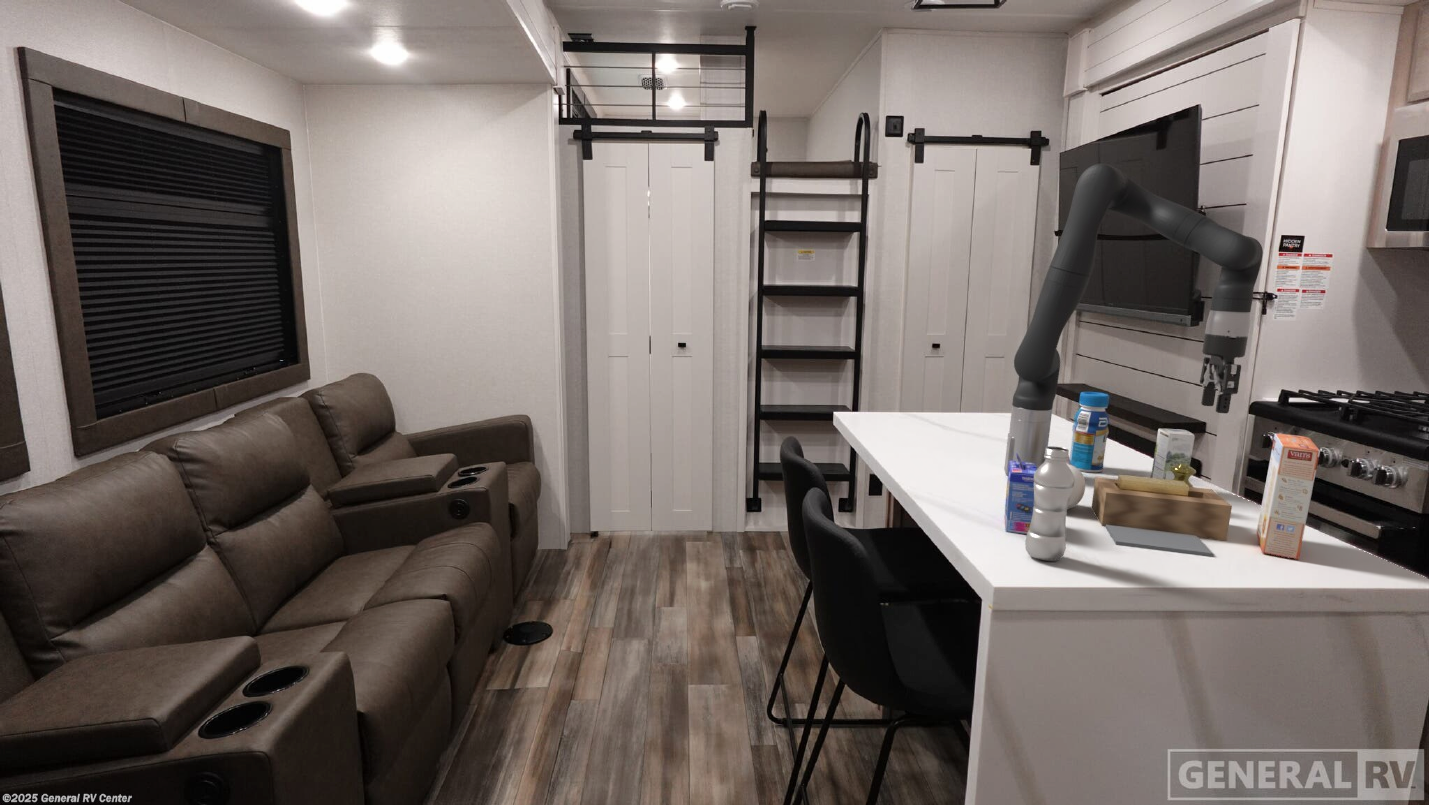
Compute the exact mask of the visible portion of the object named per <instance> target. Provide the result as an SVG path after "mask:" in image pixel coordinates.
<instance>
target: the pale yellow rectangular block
mask: <svg viewBox="0 0 1429 805" xmlns="http://www.w3.org/2000/svg"><path fill="white" fill-rule="evenodd" d="M1117 475H1118V477H1117V479H1118V482H1117V487H1118V489H1120V490H1129V491H1138V492H1148V493H1157V494H1166V495H1176V496H1185V497H1188V491H1189V486H1188V485H1187V484H1186V483H1185V482H1184V481H1175V480H1165V479H1156V478H1151V477H1146V476H1145V477H1144V476H1134V475H1125V474H1117Z"/></svg>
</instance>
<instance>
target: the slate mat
mask: <svg viewBox="0 0 1429 805" xmlns="http://www.w3.org/2000/svg"><path fill="white" fill-rule="evenodd" d="M1105 529H1106V531H1107V532H1108V534H1109V536H1110V538H1111V539H1112V541H1113V542H1114V544H1115V545H1117V546H1124V547H1134V548H1140V549H1141V548H1142V549H1150V550H1157V551H1158V550H1159V551H1165V550H1166V551H1167V552H1175V553H1181V552H1182V554H1189V555H1190V554H1191V555H1198V556H1205V555H1206V557H1213V555H1214V552H1212V550H1210V548H1209V547H1208V546H1207V545H1206V544H1205V543H1204V542H1203V541H1202V540H1201V539H1200V537H1197V536H1196V535H1188V534H1180V533H1171V532H1163V531H1155V530H1146V529H1138V528H1130V527H1121V526H1113V525H1106V526H1105ZM1166 551H1165V552H1166Z"/></svg>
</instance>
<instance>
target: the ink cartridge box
mask: <svg viewBox="0 0 1429 805" xmlns="http://www.w3.org/2000/svg"><path fill="white" fill-rule="evenodd" d="M1016 456H1017V459H1018V461H1009V468H1008V475H1007V479H1006V480H1007V481H1006V491H1005V492H1006V494H1005V504H1004V505H1005V506H1004V530H1005V532H1009V533H1016V534H1022V535H1024V534H1025V535H1027V533H1028V530H1029V528H1030V524H1031V519H1032V515H1033V507H1034V474H1035V472H1036V470H1037V466H1036V464H1035V463H1029V462H1021V460H1020V457H1019V456H1018V454H1017V453H1016Z"/></svg>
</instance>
